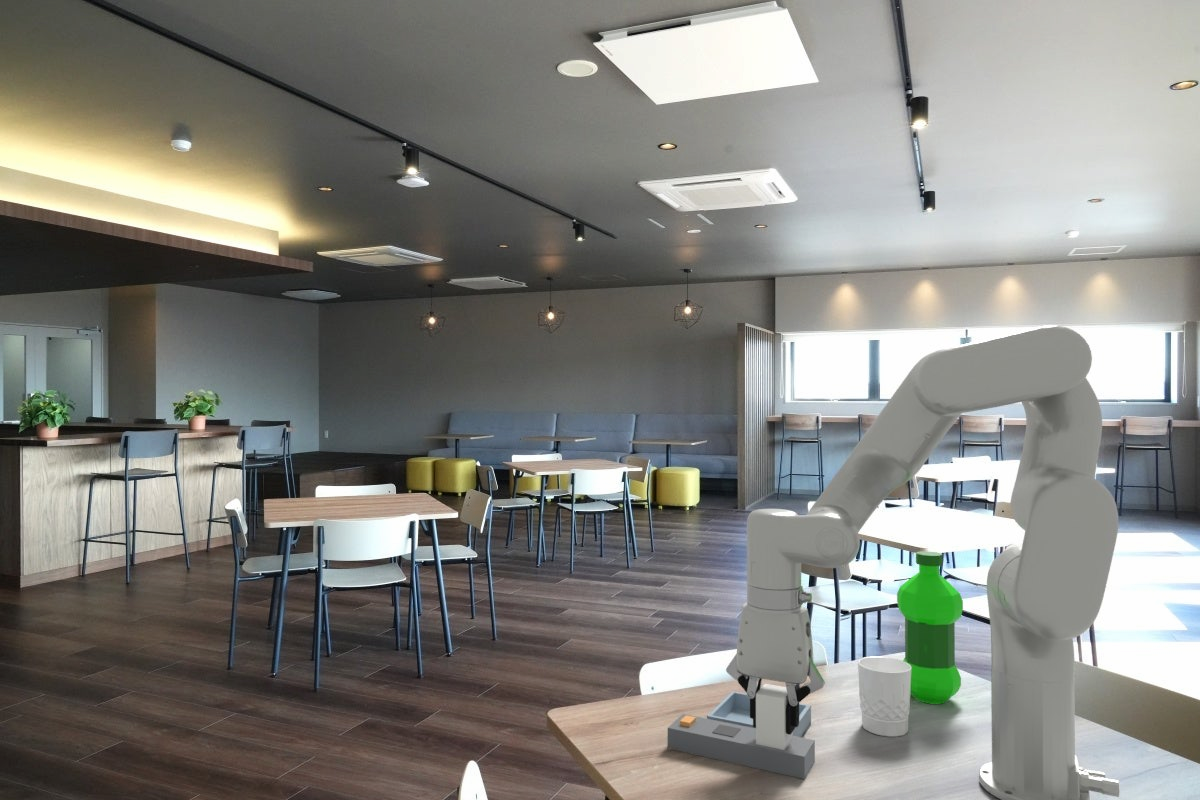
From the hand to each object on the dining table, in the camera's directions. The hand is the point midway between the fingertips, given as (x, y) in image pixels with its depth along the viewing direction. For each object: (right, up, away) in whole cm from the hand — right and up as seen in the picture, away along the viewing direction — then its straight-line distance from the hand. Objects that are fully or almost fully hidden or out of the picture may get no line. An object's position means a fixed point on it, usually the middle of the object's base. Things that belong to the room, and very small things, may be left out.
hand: (774, 726), depth 109 cm
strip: (-4, -5, +2) cm, 7 cm away
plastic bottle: (+32, -6, +24) cm, 41 cm away
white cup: (+20, -6, +12) cm, 24 cm away
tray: (0, -5, +11) cm, 12 cm away
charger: (0, -4, 0) cm, 4 cm away
